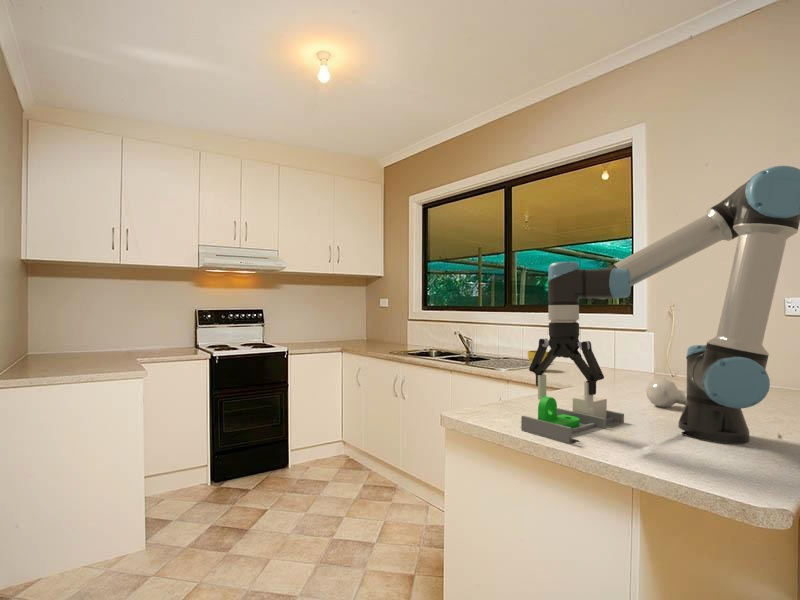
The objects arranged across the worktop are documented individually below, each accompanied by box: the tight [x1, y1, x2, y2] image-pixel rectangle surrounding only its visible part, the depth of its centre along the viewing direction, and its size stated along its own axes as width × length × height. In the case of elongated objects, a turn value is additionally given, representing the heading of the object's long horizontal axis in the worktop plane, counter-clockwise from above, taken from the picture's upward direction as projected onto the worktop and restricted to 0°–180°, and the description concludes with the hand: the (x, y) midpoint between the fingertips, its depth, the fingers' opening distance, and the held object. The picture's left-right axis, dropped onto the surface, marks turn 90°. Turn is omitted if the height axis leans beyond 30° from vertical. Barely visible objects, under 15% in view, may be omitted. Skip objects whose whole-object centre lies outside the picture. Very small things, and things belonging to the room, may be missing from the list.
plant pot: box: [527, 350, 549, 372], centre depth 226 cm, size 10×10×10 cm
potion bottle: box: [645, 378, 687, 409], centre depth 149 cm, size 9×10×15 cm
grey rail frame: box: [520, 407, 625, 445], centre depth 122 cm, size 14×26×4 cm, turn 127°
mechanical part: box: [537, 395, 580, 428], centre depth 118 cm, size 12×6×8 cm, turn 130°
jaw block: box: [572, 395, 608, 419], centre depth 126 cm, size 6×7×6 cm
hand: (564, 403), depth 118 cm, fingers open, 13 cm apart
